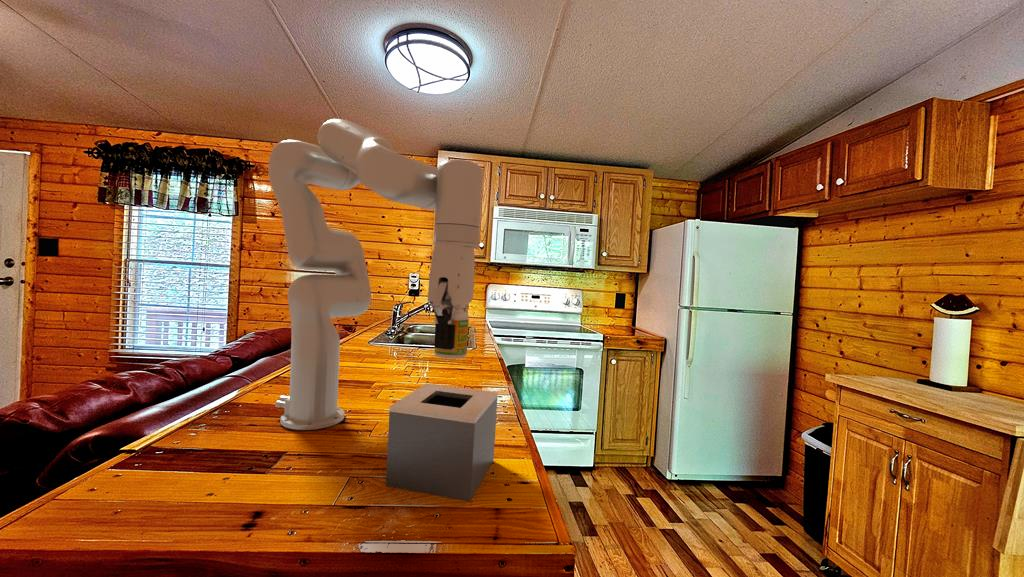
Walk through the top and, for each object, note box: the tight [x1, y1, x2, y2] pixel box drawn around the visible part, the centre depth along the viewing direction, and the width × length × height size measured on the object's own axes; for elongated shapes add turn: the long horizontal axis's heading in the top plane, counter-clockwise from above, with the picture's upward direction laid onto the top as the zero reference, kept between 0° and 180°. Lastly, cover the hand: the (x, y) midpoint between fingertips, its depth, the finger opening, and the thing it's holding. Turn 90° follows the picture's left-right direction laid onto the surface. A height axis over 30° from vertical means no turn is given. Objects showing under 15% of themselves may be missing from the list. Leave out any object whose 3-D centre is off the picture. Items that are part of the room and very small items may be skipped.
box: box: [385, 383, 499, 502], centre depth 72 cm, size 14×14×13 cm
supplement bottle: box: [434, 301, 470, 360], centre depth 71 cm, size 5×5×10 cm
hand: (450, 344), depth 71 cm, fingers closed on supplement bottle, 5 cm apart
